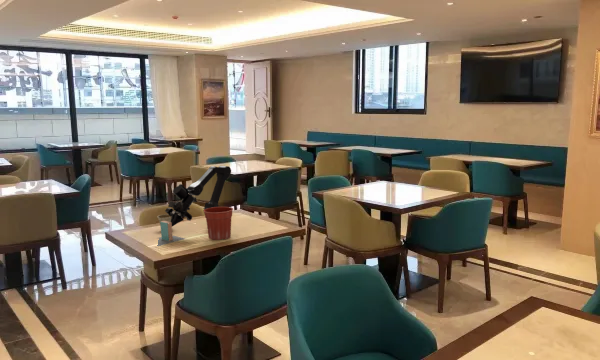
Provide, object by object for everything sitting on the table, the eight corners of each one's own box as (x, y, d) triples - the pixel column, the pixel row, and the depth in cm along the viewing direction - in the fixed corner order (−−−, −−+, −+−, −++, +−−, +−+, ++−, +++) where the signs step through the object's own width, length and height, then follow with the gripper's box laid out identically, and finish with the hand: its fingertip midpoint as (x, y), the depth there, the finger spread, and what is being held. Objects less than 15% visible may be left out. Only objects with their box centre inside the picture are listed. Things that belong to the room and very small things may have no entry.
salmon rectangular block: (165, 238, 278) (164, 220, 276) (172, 239, 273) (171, 222, 272) (161, 239, 276) (160, 221, 274) (168, 241, 271) (167, 223, 270)
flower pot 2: (230, 232, 288) (229, 205, 286) (237, 239, 273) (236, 210, 270) (202, 235, 282) (201, 208, 280) (208, 242, 267) (206, 213, 265)
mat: (170, 235, 285) (170, 234, 284) (185, 239, 275) (185, 238, 275) (139, 243, 270) (139, 242, 269) (154, 248, 260) (154, 247, 260)
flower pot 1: (172, 231, 294) (171, 217, 293) (156, 232, 294) (155, 217, 293) (176, 227, 303) (175, 214, 302) (161, 228, 304) (160, 214, 302)
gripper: (166, 194, 283) (151, 216, 276) (186, 197, 271) (170, 220, 264) (179, 205, 290) (164, 227, 283) (198, 208, 278) (183, 231, 271)
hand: (170, 226), depth 275 cm, fingers closed
